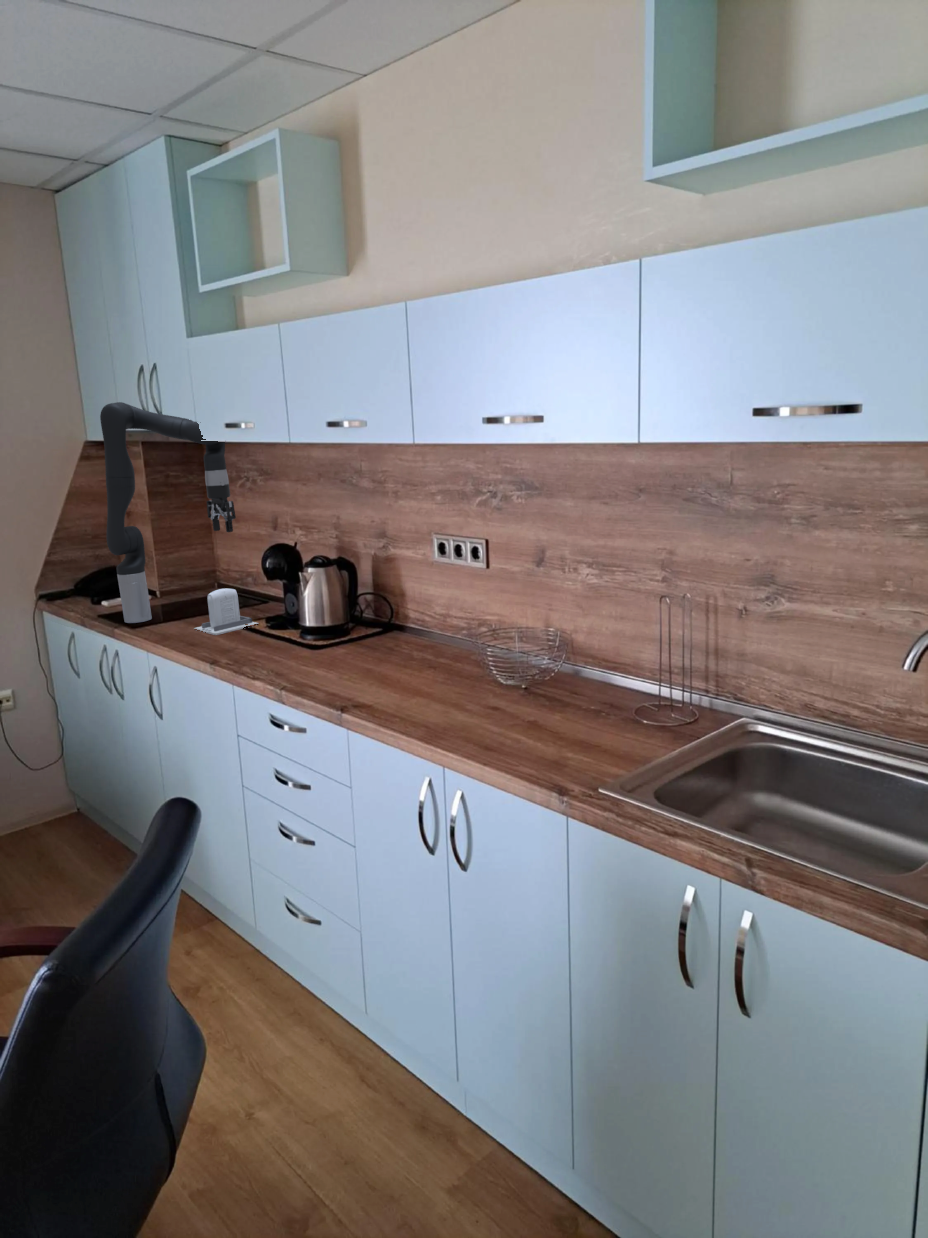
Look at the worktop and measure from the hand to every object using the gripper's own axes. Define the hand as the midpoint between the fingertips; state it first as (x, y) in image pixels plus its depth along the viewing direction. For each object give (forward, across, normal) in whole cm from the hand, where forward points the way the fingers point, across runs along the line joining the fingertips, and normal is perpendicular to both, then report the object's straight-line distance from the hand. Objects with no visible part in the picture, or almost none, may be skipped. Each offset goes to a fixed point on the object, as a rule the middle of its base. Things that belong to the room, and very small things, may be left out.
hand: (223, 531), depth 307 cm
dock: (+30, +12, -10) cm, 34 cm away
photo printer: (+30, +12, -10) cm, 34 cm away
